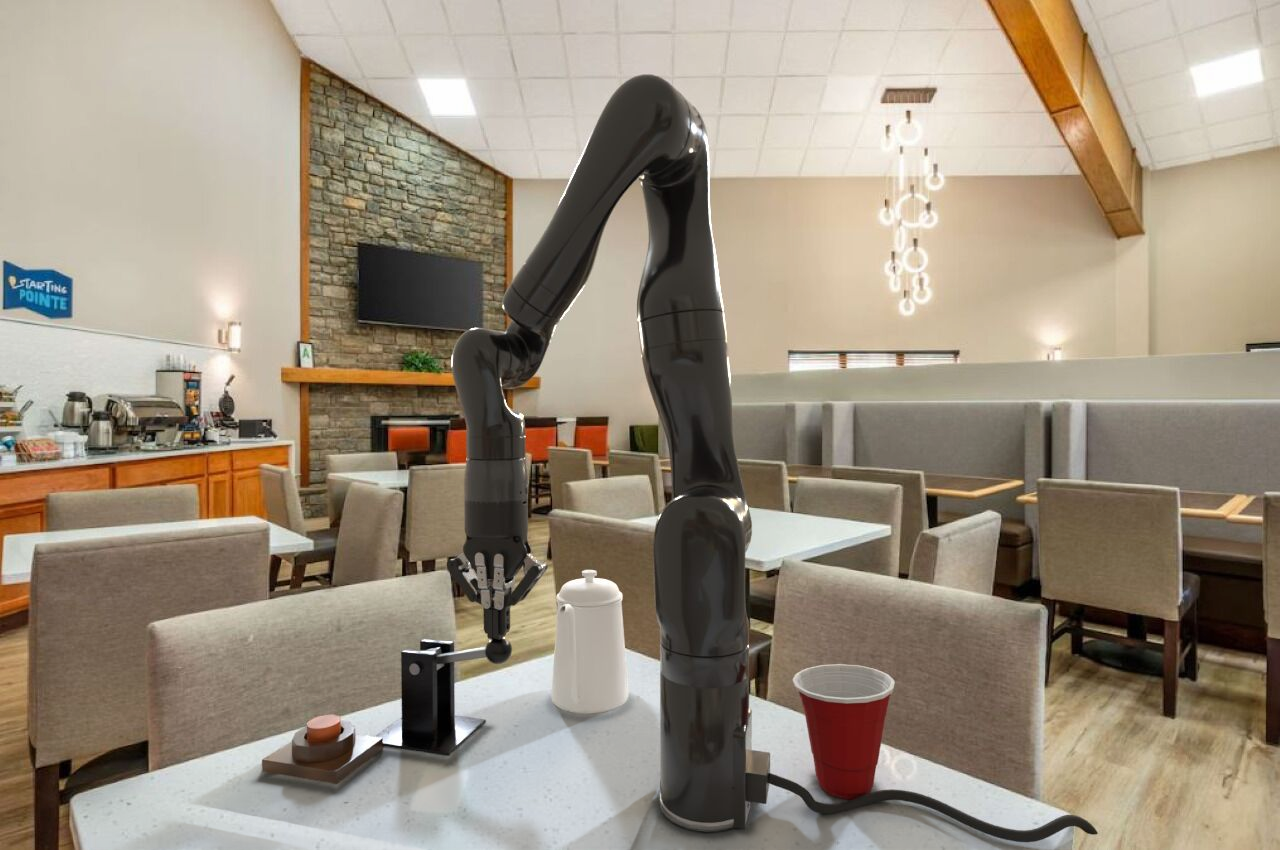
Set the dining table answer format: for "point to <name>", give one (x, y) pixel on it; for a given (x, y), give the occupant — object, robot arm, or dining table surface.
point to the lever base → (428, 705)
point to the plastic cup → (844, 724)
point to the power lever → (476, 653)
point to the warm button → (323, 728)
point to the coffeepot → (589, 647)
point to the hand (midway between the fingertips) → (497, 637)
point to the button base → (323, 755)
